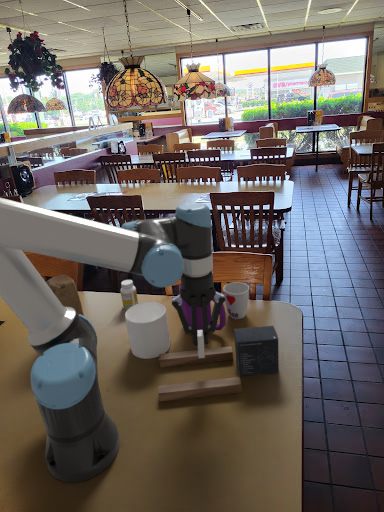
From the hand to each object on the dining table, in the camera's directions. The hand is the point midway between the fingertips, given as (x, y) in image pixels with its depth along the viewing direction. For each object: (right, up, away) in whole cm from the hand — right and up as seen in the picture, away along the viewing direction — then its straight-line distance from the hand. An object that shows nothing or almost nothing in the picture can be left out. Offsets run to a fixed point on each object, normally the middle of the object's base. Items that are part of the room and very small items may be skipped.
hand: (201, 354), depth 96 cm
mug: (+2, +2, +22) cm, 22 cm away
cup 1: (-15, -2, +16) cm, 22 cm away
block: (-41, 0, +26) cm, 49 cm away
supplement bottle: (-24, +7, +39) cm, 46 cm away
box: (+15, -4, +4) cm, 16 cm away
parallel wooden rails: (-1, -6, +3) cm, 7 cm away
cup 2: (+12, +6, +28) cm, 31 cm away
